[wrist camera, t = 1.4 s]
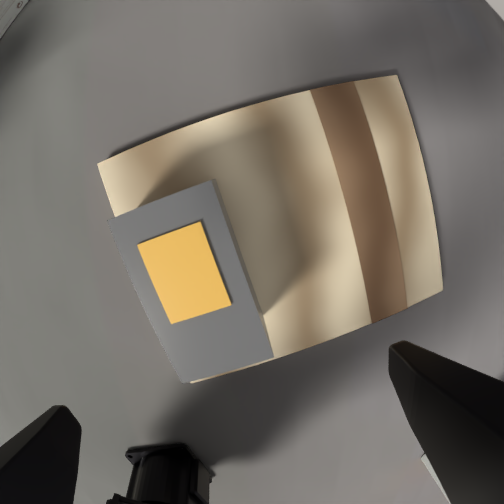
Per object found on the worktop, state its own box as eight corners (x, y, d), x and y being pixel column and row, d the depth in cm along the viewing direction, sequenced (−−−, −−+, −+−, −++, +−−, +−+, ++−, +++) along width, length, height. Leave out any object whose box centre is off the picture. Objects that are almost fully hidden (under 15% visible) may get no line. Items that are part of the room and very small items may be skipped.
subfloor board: (192, 375, 22) (190, 384, 21) (103, 164, 18) (96, 164, 17) (436, 285, 22) (443, 290, 21) (389, 78, 18) (397, 74, 17)
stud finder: (190, 338, 20) (182, 385, 15) (136, 208, 18) (105, 221, 13) (263, 315, 20) (274, 358, 15) (215, 178, 18) (211, 180, 13)
